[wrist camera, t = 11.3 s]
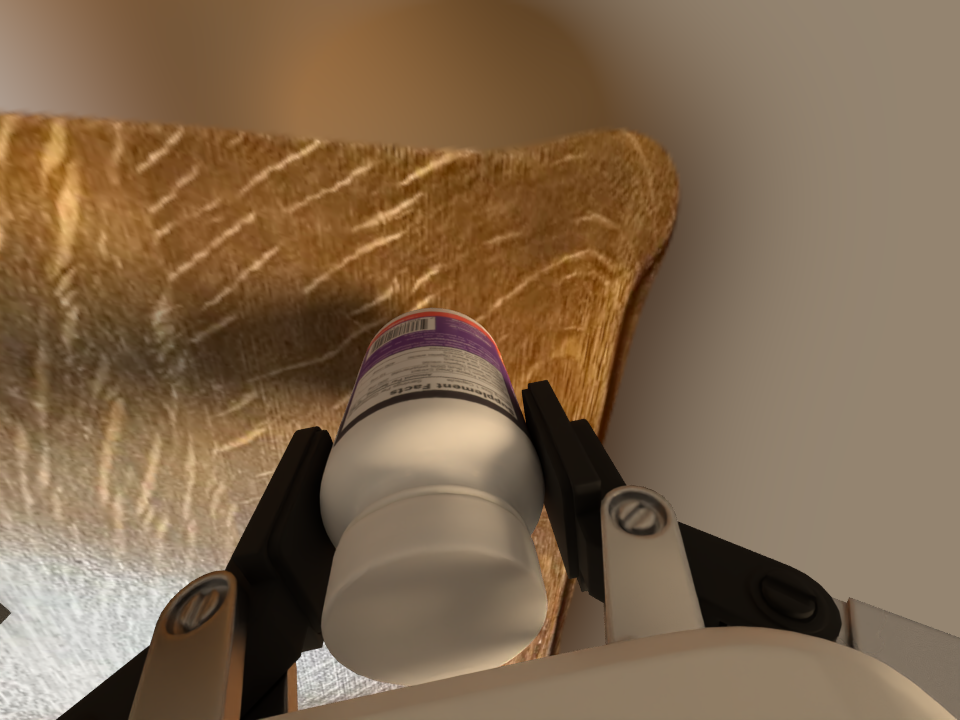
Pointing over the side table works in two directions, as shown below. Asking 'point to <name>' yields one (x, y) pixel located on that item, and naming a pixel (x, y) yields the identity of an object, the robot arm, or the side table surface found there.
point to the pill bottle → (432, 508)
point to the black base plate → (3, 613)
